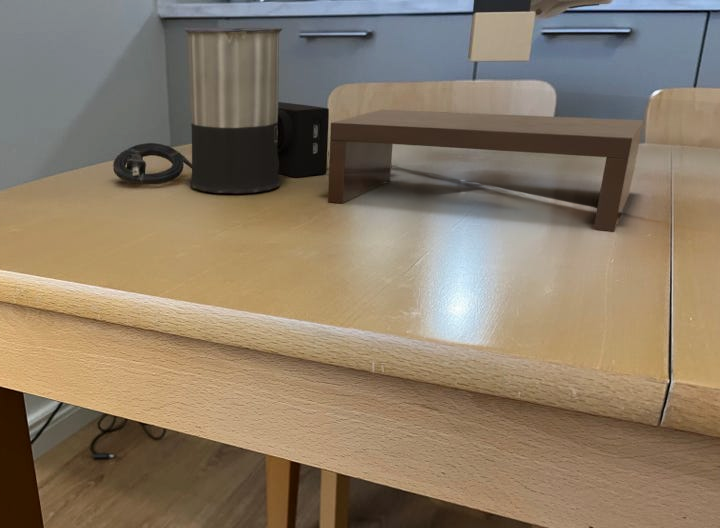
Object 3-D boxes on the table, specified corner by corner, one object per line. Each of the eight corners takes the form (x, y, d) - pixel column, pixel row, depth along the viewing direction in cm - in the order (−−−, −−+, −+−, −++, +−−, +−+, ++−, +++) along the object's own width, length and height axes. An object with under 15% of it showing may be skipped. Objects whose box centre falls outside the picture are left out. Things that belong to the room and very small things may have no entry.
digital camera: (235, 165, 88) (235, 103, 85) (274, 161, 90) (275, 100, 87) (285, 179, 80) (286, 110, 77) (326, 174, 82) (329, 107, 79)
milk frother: (295, 191, 73) (298, 25, 67) (137, 204, 69) (126, 27, 63) (245, 169, 86) (244, 27, 80) (107, 178, 81) (95, 28, 75)
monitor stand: (376, 179, 79) (381, 109, 76) (627, 200, 68) (643, 120, 65) (327, 202, 69) (330, 122, 66) (614, 231, 58) (632, 137, 55)
